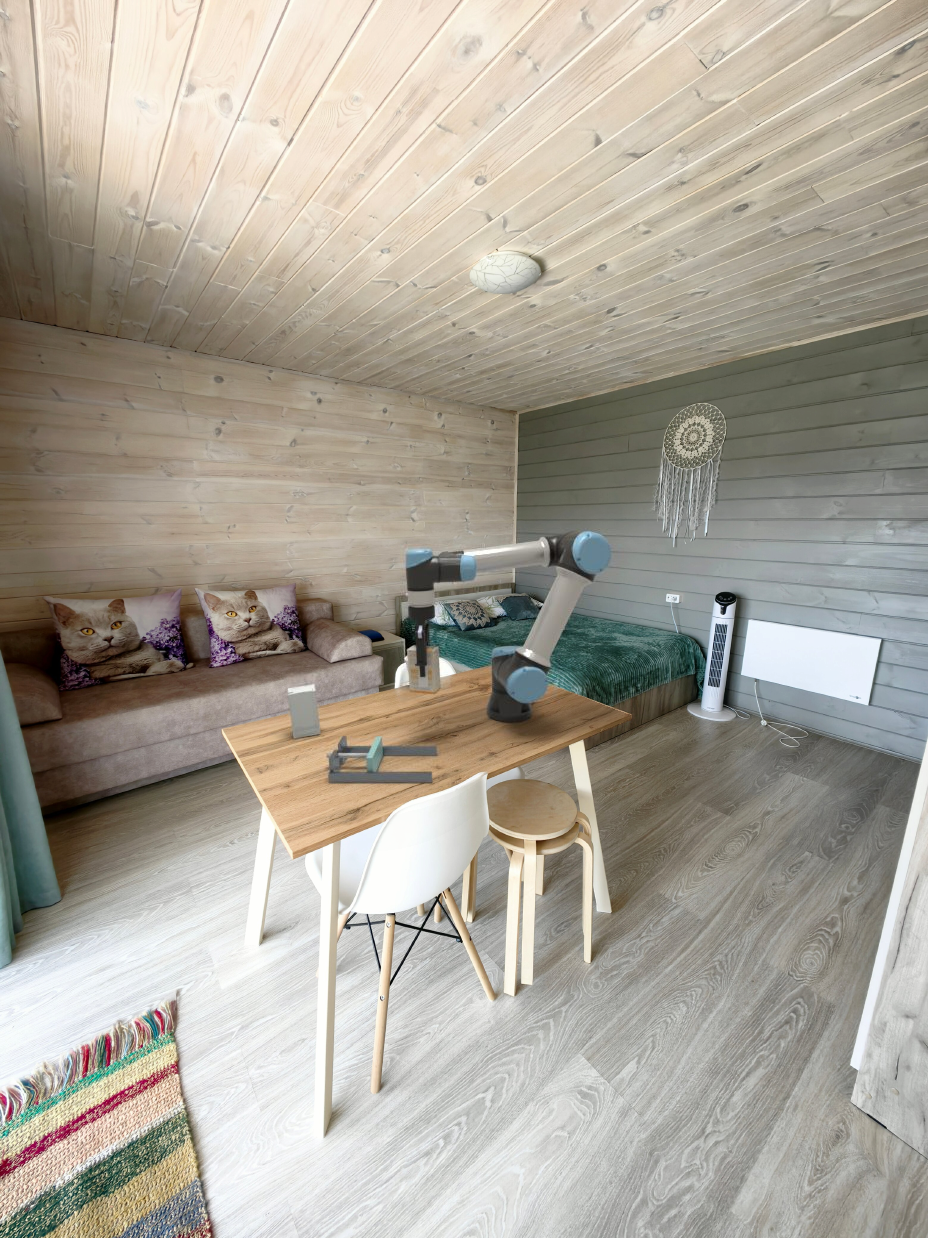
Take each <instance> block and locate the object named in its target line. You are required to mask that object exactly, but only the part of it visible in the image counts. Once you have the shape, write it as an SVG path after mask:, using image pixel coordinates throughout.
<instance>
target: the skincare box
mask: <svg viewBox="0 0 928 1238" xmlns="http://www.w3.org/2000/svg"><path fill="white" fill-rule="evenodd" d="M287 700H288V707H289V715H290V721H291V722H290V723H291V729H292V736H293V740H294V739H300V738H305V737H311V736H317V735H321V725H320V717H319V709H318V708H319V707H318V701H317V690H316V685H315V684H314V683H313V684H308V685H302V686H301V685H300V686H295V687H288V688H287Z"/></svg>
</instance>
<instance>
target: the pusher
mask: <svg viewBox="0 0 928 1238" xmlns="http://www.w3.org/2000/svg"><path fill="white" fill-rule="evenodd" d="M370 746H371V749H370V751H369V753H339V758H346V759H362V758H363V759H365V760H366V763H365V764H366V772H378V771H377V770H378V768H379V766H380V764H381V761H382V758H383V757H384V756H383V746H384V745H383V737H382V736H376V737H375V738H374V740H373V742H372V745H370ZM332 753H333V752H331V753H330V752H327V753H326V758H327V759H329V757H330V756H331V754H332Z"/></svg>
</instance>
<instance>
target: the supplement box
mask: <svg viewBox="0 0 928 1238" xmlns="http://www.w3.org/2000/svg"><path fill="white" fill-rule="evenodd" d="M439 649H440V648H439V646H431V645H430V646H427V651H426V652H427V665H428V686H429V687H419V682H418V666H415V664H416V663H417V658H416V645H412V646H410V647H409V648H407V649H406V654H407V655H406V656H407V657H408V670H407V673H408V672H409V674H408V684H409V693H414V694H415V693H417V694H427V695H428V694H429V695H436V694H437V693H438V692H439V691H441V688H442V687H441V673H440V672H441V671H440V670H441V667H440V654H439V653H440V652H439Z"/></svg>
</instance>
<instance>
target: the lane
mask: <svg viewBox="0 0 928 1238" xmlns="http://www.w3.org/2000/svg"><path fill="white" fill-rule="evenodd" d="M347 737H348V736H347V735H343V736H342V737H341V739H340V740H339V742H338V743H337V749H334V750H333V751H332V752H331V753H332V754H331V756H330V757H329V758H328V766H329V769H328V770H329V772H328V783H329V784H335V783H337V784H338V783H340V784H341V783H342V784H343V783H344V784H345V783H346V784H348V783H349V784H353V783H354V784H357V783H359V784H360V783H361V784H365V783H366V784H367V783H369V784H370V783H371V784H372V783H374V784H377V783H378V784H379V783H381V784H389V783H395V784H398V783H399V784H401V783H405V784H406V783H407V784H409V783H410V784H414V783H415V784H416V783H417V784H419V783H421V784H422V783H423V784H425V783H427V784H429V783H431V784H433V771H376V772H367V771H341V768H340V766H341V765H342V766H343V765H344V764H345V762H346V761H347V758H339V753H369V751H370V749H371V746H372V745H348V740H347V739H348V738H347ZM382 746H383V756H382V757H388V756H389V757H392V756H393V757H394V756H398V757H400V756H401V757H407V756H408V757H411V756H412V757H413V756H418V757H424V756H425V757H431V756H432V757H433V756H436V757H437V756H438V746H437V745H382Z"/></svg>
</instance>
